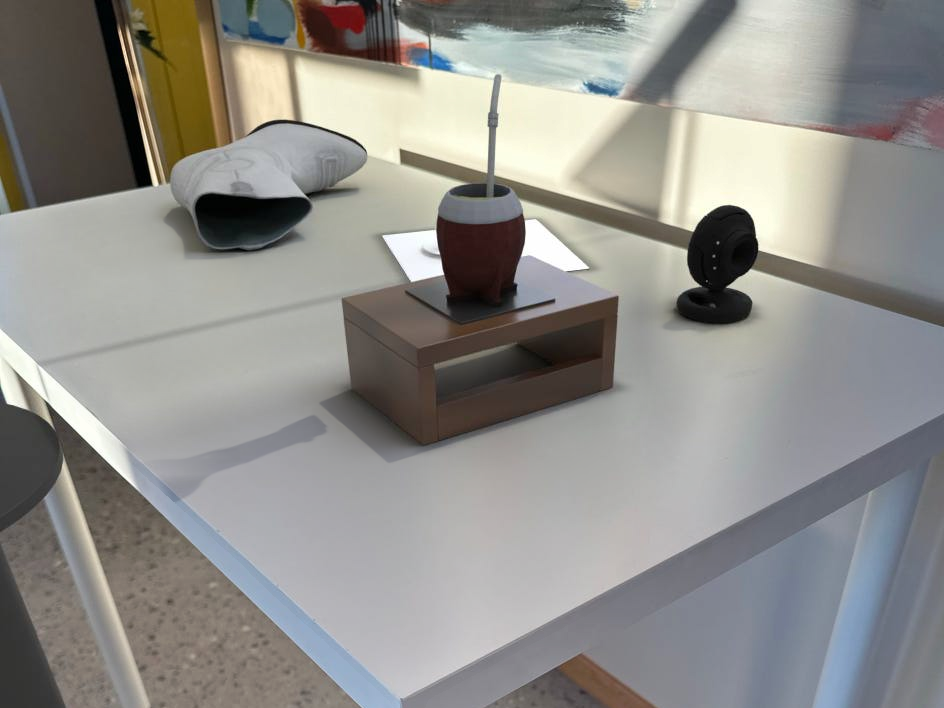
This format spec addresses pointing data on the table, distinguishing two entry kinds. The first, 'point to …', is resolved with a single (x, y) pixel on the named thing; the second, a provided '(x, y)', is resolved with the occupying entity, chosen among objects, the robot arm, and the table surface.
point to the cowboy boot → (262, 181)
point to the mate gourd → (481, 232)
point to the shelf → (479, 347)
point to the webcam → (720, 265)
